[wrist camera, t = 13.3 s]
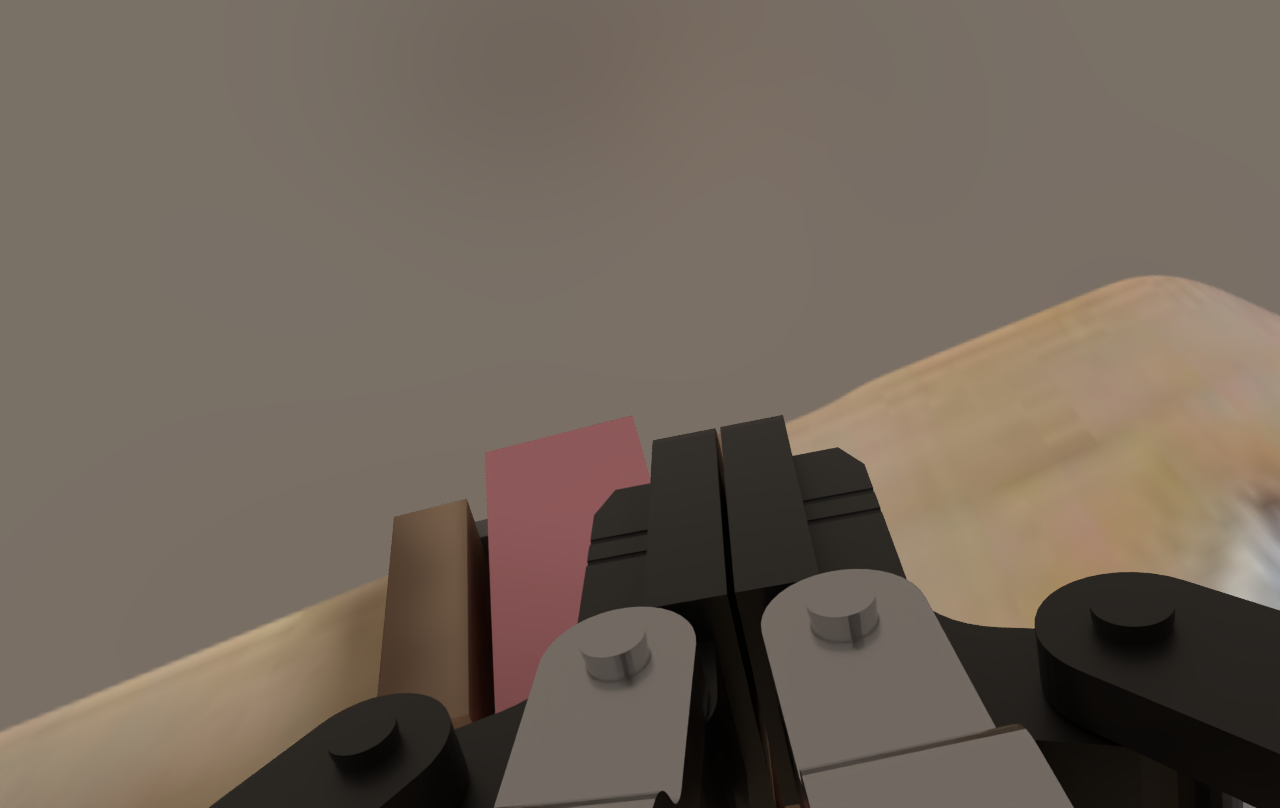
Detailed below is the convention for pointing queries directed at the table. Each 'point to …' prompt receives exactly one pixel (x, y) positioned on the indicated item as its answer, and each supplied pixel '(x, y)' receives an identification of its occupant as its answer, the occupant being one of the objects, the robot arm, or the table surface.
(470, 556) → the shelf slot
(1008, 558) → the table surface
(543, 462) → the pink rectangular block
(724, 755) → the robot arm
